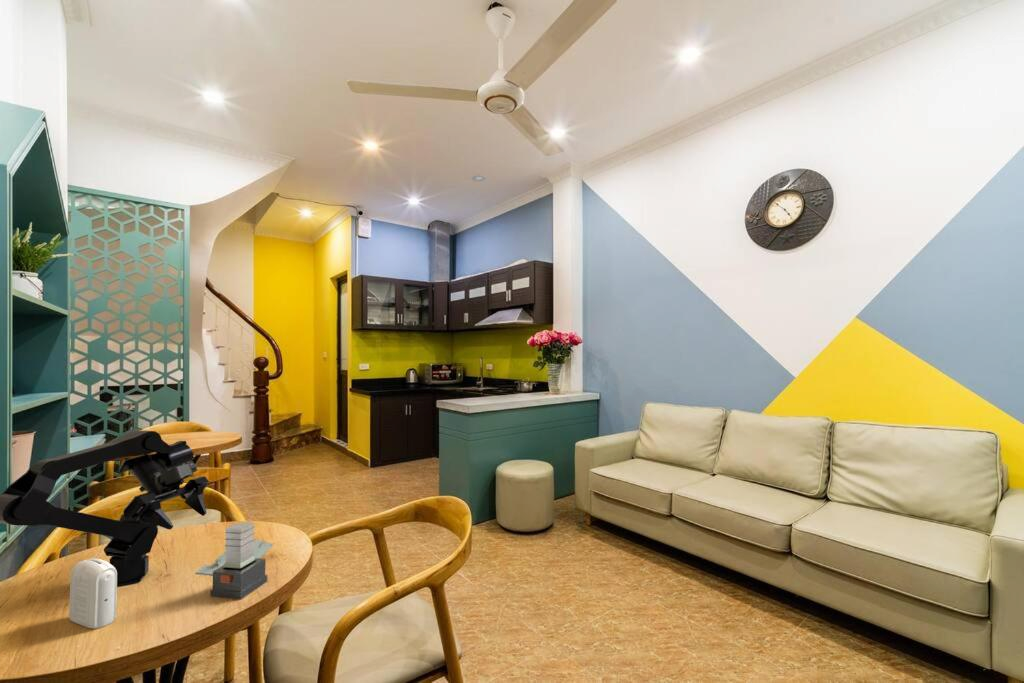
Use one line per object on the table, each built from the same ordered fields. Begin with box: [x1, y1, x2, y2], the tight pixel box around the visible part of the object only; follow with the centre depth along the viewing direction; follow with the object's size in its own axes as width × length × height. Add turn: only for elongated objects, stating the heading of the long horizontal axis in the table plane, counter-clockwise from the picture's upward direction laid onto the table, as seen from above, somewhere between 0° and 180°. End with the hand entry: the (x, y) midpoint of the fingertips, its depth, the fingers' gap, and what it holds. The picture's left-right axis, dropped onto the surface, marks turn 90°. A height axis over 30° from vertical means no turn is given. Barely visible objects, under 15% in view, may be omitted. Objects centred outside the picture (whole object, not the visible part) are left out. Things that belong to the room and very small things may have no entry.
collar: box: [209, 558, 268, 600], centre depth 102 cm, size 8×8×6 cm
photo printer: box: [68, 558, 118, 630], centre depth 91 cm, size 10×4×12 cm, turn 69°
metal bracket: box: [195, 537, 275, 576], centre depth 114 cm, size 14×6×15 cm
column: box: [224, 521, 255, 569], centre depth 102 cm, size 4×4×9 cm
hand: (188, 521), depth 109 cm, fingers open, 9 cm apart
